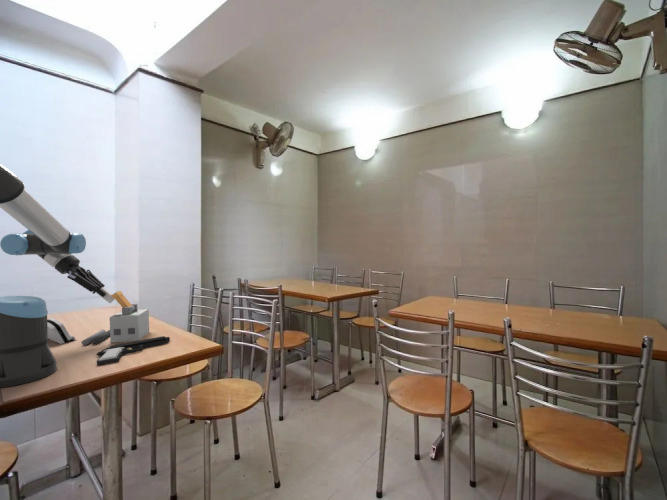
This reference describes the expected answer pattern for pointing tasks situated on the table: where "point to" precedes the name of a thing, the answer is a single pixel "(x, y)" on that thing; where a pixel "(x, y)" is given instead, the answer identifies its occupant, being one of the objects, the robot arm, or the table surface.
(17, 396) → the table surface
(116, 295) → the lever
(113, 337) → the breaker box
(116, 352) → the handgun
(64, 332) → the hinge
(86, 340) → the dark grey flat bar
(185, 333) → the table surface
